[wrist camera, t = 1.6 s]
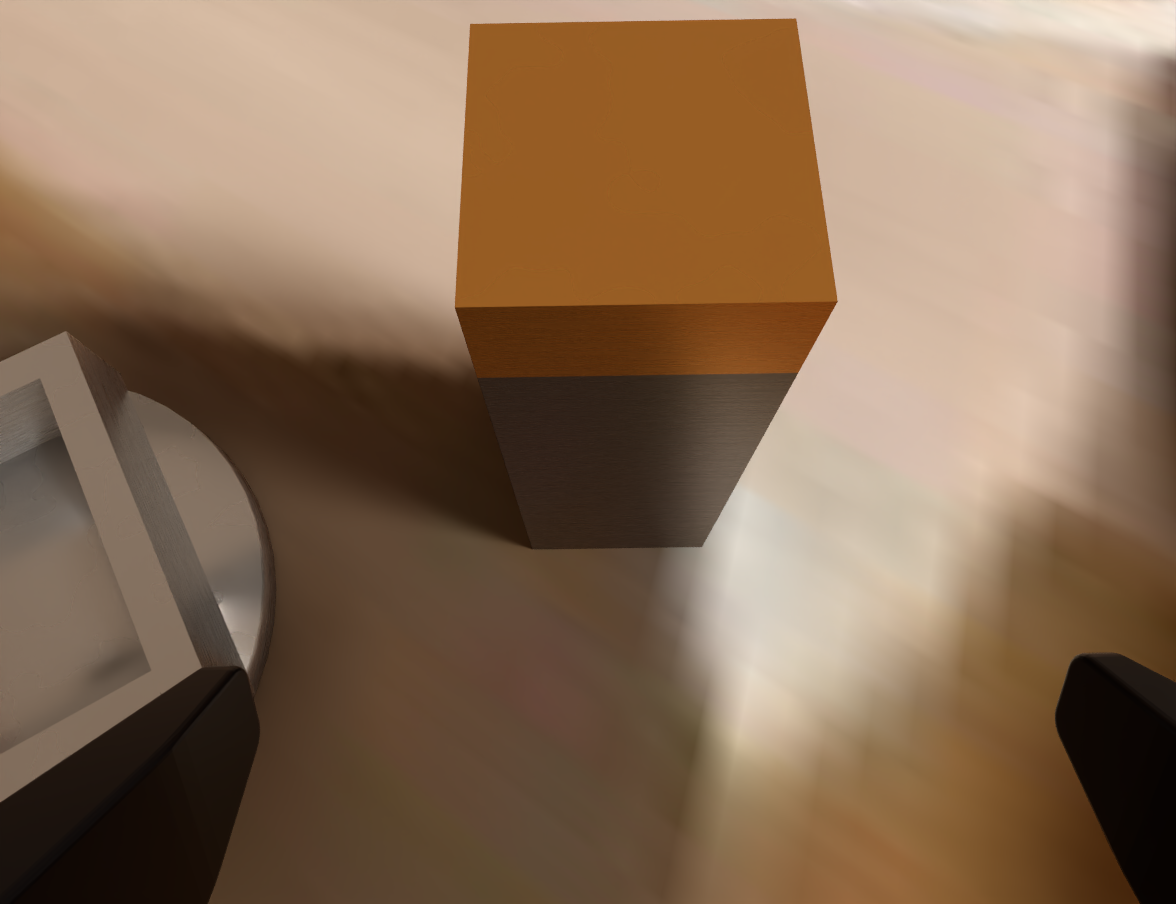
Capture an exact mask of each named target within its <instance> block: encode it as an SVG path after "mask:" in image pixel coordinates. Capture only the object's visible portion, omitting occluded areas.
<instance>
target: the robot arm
mask: <svg viewBox="0 0 1176 904" xmlns="http://www.w3.org/2000/svg"><path fill="white" fill-rule="evenodd" d="M1055 723H1056V728H1057V732H1058V735H1059V737H1060V739H1061V742H1062V744H1063V746H1064V748H1065V750H1066V752H1067V755H1068V757H1069V759H1070V761H1071V763H1072V766H1073V768H1074V770H1075V772H1076V774H1077V776H1078V779H1079V781H1080V783H1081V785H1082V787H1083V789H1084V792H1085V794H1086V796H1087V798H1088V800H1089V802H1090V805H1091V807H1092V809H1093V811H1094V813H1095V815H1096V818H1097V820H1098V822H1099V824H1100V826H1101V828H1102V831H1103V833H1104V835H1105V837H1106V839H1107V841H1108V844H1109V846H1110V848H1111V850H1112V852H1113V854H1114V856H1115V858H1116V860H1117V862H1118V864H1119V866H1120V868H1121V870H1122V872H1123V874H1124V876H1125V877H1126V879H1127V881H1128V883H1129V885H1130V887H1131V888H1132V890H1133V892H1134V894H1135V896H1136V897H1137V899H1138V901H1139V903H1140V904H1176V682H1174V681H1172V680H1170V679H1168V678H1166V677H1164V676H1162V675H1160V674H1158V673H1156V672H1154V671H1152V670H1150V669H1148V668H1146V667H1144V666H1142V665H1140V664H1138V663H1137V662H1135V661H1133V660H1131V659H1129V658H1127V657H1125V656H1123V655H1120V654H1117V653H1082V654H1079V655H1076V656H1075V657H1074V658H1073V659H1072V660H1071V662H1070V665H1069V668H1068V671H1067V674H1066V677H1065V681H1064V684H1063V687H1062V690H1061V694H1060V697H1059V700H1058V703H1057V707H1056V711H1055ZM259 737H260V724H259V719H258V715H257V711H256V707H255V703H254V699H253V695H252V691H251V687H250V683H249V679H248V676H247V674H246V672H245V671H244V669H243V668H241V667H239V666H207V667H203V668H200V669H199V670H197V671H195V672H194V673H192V674H191V675H189V676H188V677H186V678H185V679H183V680H182V681H180V682H179V683H177V684H176V685H174V686H173V687H171V688H170V689H168V690H167V691H165V692H164V693H162V694H161V695H159V696H158V697H156V698H155V699H153V700H152V701H150V702H149V703H147V704H146V705H145V706H143V707H142V708H140V709H139V710H137V711H136V712H134V713H133V714H131V715H130V716H128V717H127V718H125V719H124V720H122V721H121V722H119V723H118V724H116V725H115V726H113V727H112V728H110V729H109V730H107V731H106V732H104V733H103V734H101V735H100V736H98V737H97V738H95V739H94V740H92V741H91V742H89V743H88V744H86V745H85V746H83V747H82V748H80V749H79V750H77V751H76V752H74V753H73V754H71V755H70V756H68V757H67V758H65V759H64V760H62V761H61V762H59V763H58V764H56V765H55V766H53V767H52V768H51V769H49V770H48V771H46V772H45V773H43V774H42V775H40V776H39V777H37V778H36V779H34V780H33V781H31V782H30V783H28V784H27V785H25V786H24V787H22V788H21V789H19V790H18V791H16V792H15V793H13V794H12V795H10V796H9V797H7V798H6V799H4V800H3V801H1V802H0V904H208V901H209V899H210V896H211V894H212V891H213V889H214V886H215V883H216V880H217V877H218V874H219V871H220V868H221V865H222V862H223V859H224V856H225V853H226V849H227V846H228V843H229V839H230V836H231V833H232V830H233V826H234V823H235V820H236V816H237V813H238V810H239V807H240V803H241V800H242V797H243V793H244V790H245V787H246V784H247V780H248V777H249V774H250V770H251V767H252V764H253V760H254V757H255V754H256V751H257V747H258V743H259Z"/></svg>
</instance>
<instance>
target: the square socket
mask: <svg viewBox="0 0 1176 904" xmlns="http://www.w3.org/2000/svg"><path fill="white" fill-rule="evenodd" d="M275 598H276V581H275V566H274V556H273V551H272V546H271V542H270V537H269V532H268V528H267V525H266V522H265V520H264V517H263V514H262V512H261V509H260V506H259V504H258V501H257V499H256V497H255V495H254V494H253V492H252V490H251V488H250V486H249V485H248V483H247V481H246V479H245V478H244V476H243V475H242V473H241V472H240V471H239V469H238V468H237V467H236V466H235V464H234V463H233V462H232V460H231V459H230V458H229V457H228V455H227V454H226V453H225V452H224V451H223V450H222V449H220V448H219V447H218V446H217V445H216V444H215V443H214V442H213V441H212V440H211V439H210V438H209V437H208V436H206V435H205V434H204V433H203V432H201V431H200V430H199V429H198V428H196V427H195V426H194V425H192V424H191V423H190V422H188V421H187V420H185V419H184V418H183V417H181V416H180V415H178V414H177V413H175V412H174V411H172V410H171V409H169V408H168V407H166V406H164V405H162V404H160V403H158V402H156V401H153V400H151V399H149V398H147V397H145V396H143V395H141V394H137V393H134V392H131V391H128V390H127V388H126V386H125V383H124V381H123V378H122V376H121V374H120V373H119V372H118V371H117V370H115V369H114V368H113V367H111V366H110V365H109V364H108V363H106V362H105V361H104V360H102V359H101V358H100V357H99V356H97V355H96V354H95V353H93V352H92V351H91V350H90V349H88V348H87V347H86V346H84V345H83V344H82V343H81V342H79V341H78V340H77V339H75V338H74V337H73V336H72V335H70V334H69V333H68V332H66V331H65V332H63V333H61V334H59V335H57V336H55V337H52V338H50V339H48V340H46V341H44V342H42V343H40V344H37V345H35V346H33V347H31V348H29V349H27V350H24V351H22V352H20V353H18V354H16V355H14V356H12V357H9V358H7V359H5V360H3V361H1V362H0V802H1V801H3V800H4V799H6V798H7V797H9V796H10V795H12V794H13V793H15V792H16V791H18V790H19V789H21V788H22V787H24V786H25V785H27V784H28V783H30V782H31V781H33V780H34V779H36V778H37V777H39V776H40V775H42V774H43V773H45V772H46V771H48V770H49V769H51V768H52V767H53V766H55V765H56V764H58V763H59V762H61V761H62V760H64V759H65V758H67V757H68V756H70V755H71V754H73V753H74V752H76V751H77V750H79V749H80V748H82V747H83V746H85V745H86V744H88V743H89V742H91V741H92V740H94V739H95V738H97V737H98V736H100V735H101V734H103V733H104V732H106V731H107V730H109V729H110V728H112V727H113V726H115V725H116V724H118V723H119V722H121V721H122V720H124V719H125V718H127V717H128V716H130V715H131V714H133V713H134V712H136V711H137V710H139V709H140V708H142V707H143V706H145V705H146V704H147V703H149V702H150V701H152V700H153V699H155V698H156V697H158V696H159V695H161V694H162V693H164V692H165V691H167V690H168V689H170V688H171V687H173V686H174V685H176V684H177V683H179V682H180V681H182V680H183V679H185V678H186V677H188V676H189V675H191V674H192V673H194V672H195V671H197V670H199V669H200V668H203V667H207V666H239V667H241V668H243V669H244V671H245V672H246V674H247V676H248V679H249V683H250V687H251V691H252V695H253V697H254V695H255V693H256V690H257V687H258V684H259V681H260V678H261V675H262V672H263V669H264V666H265V662H266V659H267V656H268V651H269V646H270V640H271V635H272V630H273V625H274V614H275Z"/></svg>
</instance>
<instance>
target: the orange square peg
mask: <svg viewBox="0 0 1176 904" xmlns="http://www.w3.org/2000/svg"><path fill="white" fill-rule="evenodd" d="M837 302H838V301H837V294H836V287H835V280H834V273H833V267H832V260H831V253H830V246H829V239H828V233H827V226H826V219H825V212H824V205H823V198H822V192H821V185H820V178H819V171H818V164H817V158H816V151H815V144H814V137H813V130H812V123H811V117H810V110H809V103H808V96H807V89H806V82H805V76H804V69H803V62H802V55H801V48H800V42H799V35H798V28H797V21H796V19H744V20H683V21H623V22H562V23H502V24H470V38H469V57H468V75H467V93H466V112H465V130H464V149H463V167H462V185H461V204H460V222H459V241H458V259H457V277H456V296H455V309H456V313H457V316H458V319H459V322H460V325H461V328H462V331H463V334H464V337H465V341H466V344H467V347H468V350H469V353H470V356H471V359H472V362H473V365H474V369H475V372H476V375H477V378H478V381H479V384H480V387H481V390H482V394H483V397H484V400H485V403H486V406H487V409H488V412H489V415H490V418H491V422H492V425H493V428H494V431H495V434H496V437H497V440H498V443H499V446H500V450H501V453H502V456H503V459H504V462H505V465H506V468H507V471H508V475H509V478H510V481H511V484H512V487H513V490H514V493H515V496H516V499H517V503H518V506H519V509H520V512H521V515H522V518H523V521H524V524H525V528H526V531H527V534H528V537H529V540H530V543H531V546H532V549H588V548H655V547H702V546H703V544H704V542H705V540H706V539H707V537H708V535H709V533H710V531H711V530H712V528H713V526H714V524H715V522H716V521H717V519H718V517H719V515H720V513H721V512H722V510H723V508H724V506H725V504H726V502H727V501H728V499H729V497H730V495H731V493H732V492H733V490H734V488H735V486H736V484H737V483H738V481H739V479H740V477H741V475H742V474H743V472H744V470H745V468H746V466H747V464H748V463H749V461H750V459H751V457H752V455H753V454H754V452H755V450H756V448H757V446H758V445H759V443H760V441H761V439H762V437H763V436H764V434H765V432H766V430H767V428H768V426H769V425H770V423H771V421H772V419H773V417H774V416H775V414H776V412H777V410H778V408H779V407H780V405H781V403H782V401H783V399H784V398H785V396H786V394H787V392H788V390H789V388H790V387H791V385H792V383H793V381H794V379H795V378H796V376H797V374H798V372H799V370H800V369H801V367H802V365H803V363H804V361H805V360H806V358H807V356H808V354H809V352H810V350H811V349H812V347H813V345H814V343H815V341H816V340H817V338H818V336H819V334H820V332H821V331H822V329H823V327H824V325H825V323H826V321H827V320H828V318H829V316H830V314H831V312H832V311H833V309H834V307H835V305H836V303H837Z"/></svg>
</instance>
